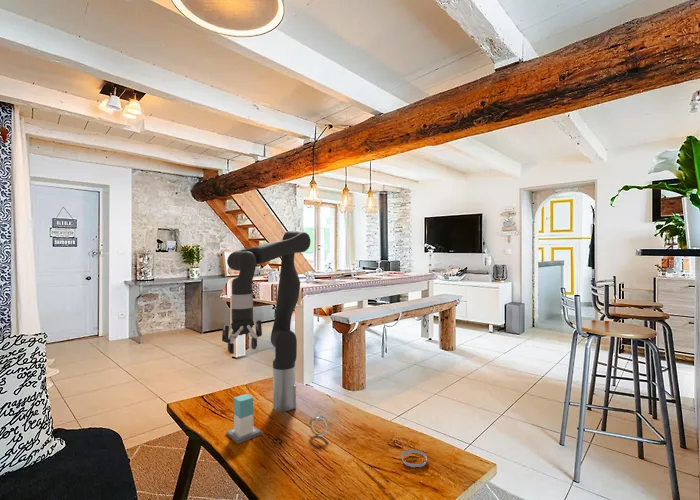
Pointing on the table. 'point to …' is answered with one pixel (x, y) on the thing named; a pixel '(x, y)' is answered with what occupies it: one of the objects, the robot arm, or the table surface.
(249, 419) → the cream brick
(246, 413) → the teal brick
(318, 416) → the ring
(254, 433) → the baseplate
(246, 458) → the table surface
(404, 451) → the gray circular band
